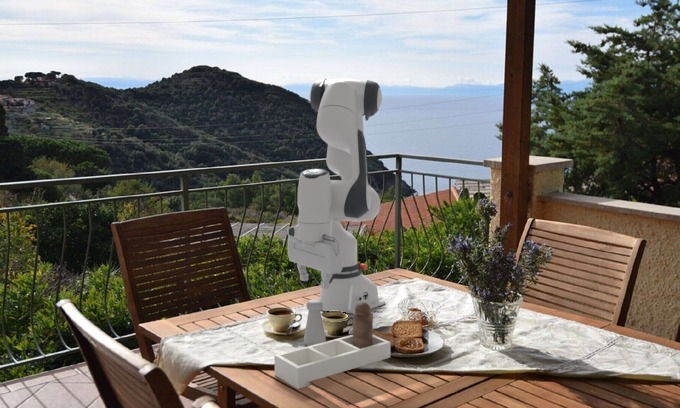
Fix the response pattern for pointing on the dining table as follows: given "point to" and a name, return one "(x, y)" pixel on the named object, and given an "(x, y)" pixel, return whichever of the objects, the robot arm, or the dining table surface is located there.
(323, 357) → the caddy
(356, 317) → the pepper mill
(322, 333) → the salt shaker
